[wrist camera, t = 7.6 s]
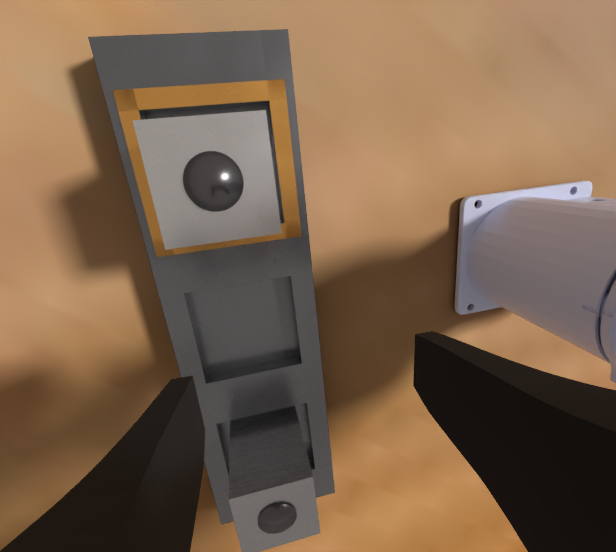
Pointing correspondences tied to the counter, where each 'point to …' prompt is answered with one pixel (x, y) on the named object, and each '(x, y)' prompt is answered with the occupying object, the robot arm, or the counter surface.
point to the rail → (229, 254)
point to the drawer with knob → (210, 177)
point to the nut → (270, 481)
